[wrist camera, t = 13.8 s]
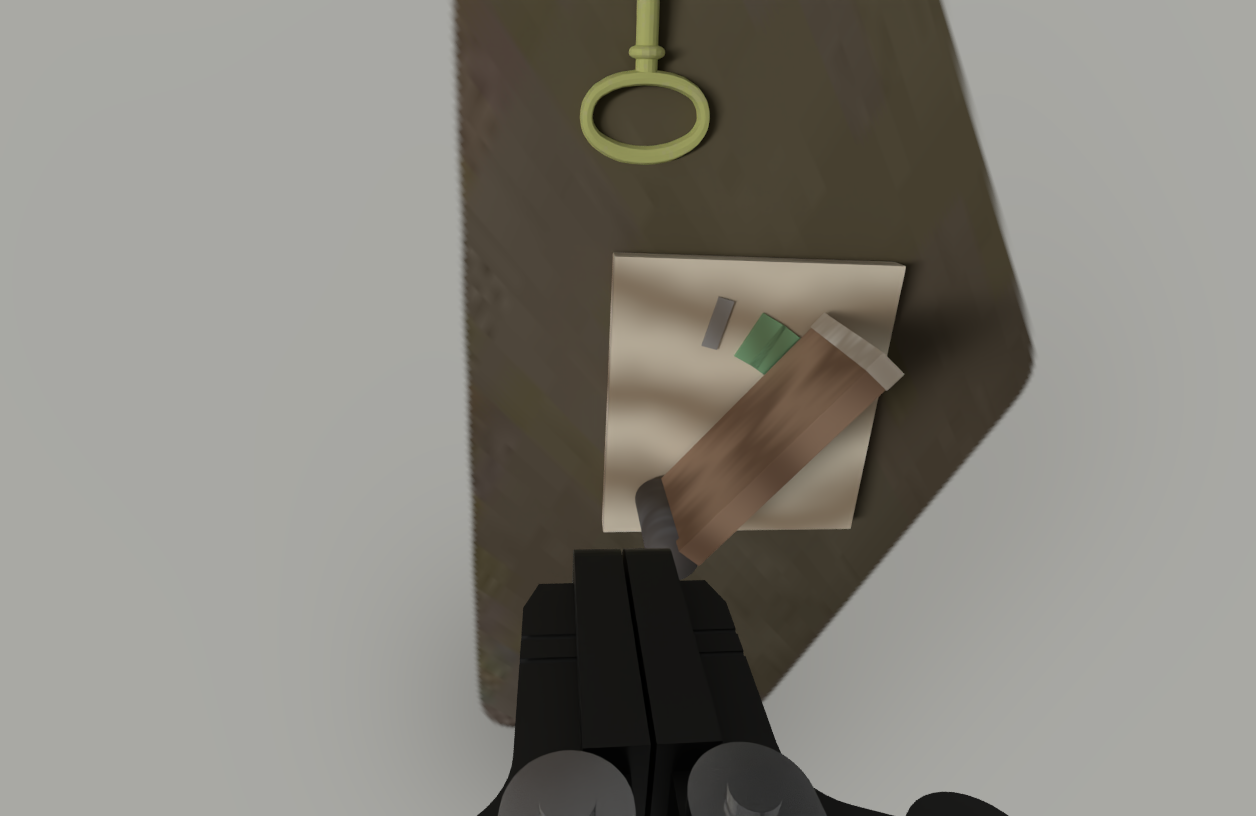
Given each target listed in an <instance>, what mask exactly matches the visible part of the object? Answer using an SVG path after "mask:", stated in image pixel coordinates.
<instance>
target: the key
mask: <svg viewBox="0 0 1256 816" xmlns="http://www.w3.org/2000/svg"><path fill="white" fill-rule="evenodd" d="M659 8H660V0H637V29H636V45H635V46H632V47H631V48H630V49H629V55H630V56H631V57H633V58H635V59H636V70H631V71H624V72H619V73H616V74H613V75H610V76H607V77H606V78H604V79H602V80H601V81H599V82H598V83H596V84H594V85H593V86H592V88H591V89H590V90H589V91H588V92H587V94H586V96H585V97H584V99H583V102H582V106H581V112H580V122H581V128H582V131H583V133H584V136H585V137H586V139H587V140H588V142H589V143H590V144H591V145H592V146H593V147H594V148H595V149H596V150H597V151H599V152H601V153H602V154H604V155H605V156H607V157H609V158H611V159H614V160H616V161H620V162H623V163H630V164H642V165H646V164H658V163H665V162H669V161H672V160H675V159H677V158H679V157H681V156H683V155H685V154H686V153H688V152H690V151H691V150H692V149H694V148H695V147H696V146H697V145H698V144H699V143H700V141H701V140H702V139H703V138H704V136H705V134H706V132H707V130H708V126H709V120H710V115H709V107H708V103H707V100H706V98H705V96H704V94H703V93H702V91H701V90H700V89H699V87H698V86H696V85H695V84H694V83H692V82H691V81H689V80H688V79H686V78H685V77H682V76H680V75H677V74H674V73H670V72H665V71H659V70H657V66H658V59H660V58H662V57H663V56H664V55H665V49H664V48H663V47H660V46H658V37H659ZM642 85H649V86H659V87H665V88H670V89H673V90H675V91H678V92H680V93H682V94H683V95H685V96H687V97H689V98H690V99H691V101H692V102H693V103H694V105H695V107H696V112H697V120H696V124H695V126H694V128H693V129H692V130H691V131H690V132H689V133H688V134H686V135H685V136H683V137H681V138H679V139H677V140H674V141H672V142H669V143H665V144H661V145H655V146H634V145H629V144H625V143H620V142H618V141H616V140H613V139H611V138H609V137H607V136H605V135H604V134H602V133H601V132H600V131H599V130H598V129H597V128H596V126H595V124H594V121H593V111H594V108H595V105H596V103H597V102H598V100H599V99H600V98H601V97H602V96H604V95H606V94H608V93H610V92H612V91H614V90H617V89H620V88H623V87H630V86H642Z"/></svg>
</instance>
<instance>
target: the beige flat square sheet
mask: <svg viewBox="0 0 1256 816" xmlns="http://www.w3.org/2000/svg"><path fill="white" fill-rule="evenodd" d="M905 269H906V266H904V265H901V264H899V263H896V262H885V261H856V260H827V259H798V258H769V257H740V256H711V255H682V254H653V253H624V252H613V267H612V291H611V316H610V340H609V364H608V388H607V412H606V437H605V461H604V485H603V509H602V524H603V532H641V527H640V522H639V517H638V513H637V508H636V503H635V495H636V492H637V490H638V489H639V487H640V486H641V485H642V484H643V483H645V482H647V481H649V480H651V479H657V478H660V479H661V478H662V477H663V476H664V475H665V474H666V473H667V472H668V471H669V470H670V469H671V468H672V467H673V466H674V465H675V464H676V463H677V462H678V461H679V460H680V459H681V458H682V457H683V456H684V455H685V454H686V453H687V452H688V451H689V450H690V449H691V448H692V447H693V446H694V445H695V444H696V443H697V442H698V441H699V440H700V439H701V438H702V437H703V436H704V435H705V434H706V433H707V432H708V431H709V430H710V429H711V428H712V427H713V426H714V425H715V424H716V423H717V422H718V421H719V420H720V419H721V418H722V417H723V416H724V415H725V414H726V413H727V412H728V411H729V410H730V409H731V408H732V407H733V406H734V405H735V404H736V403H737V402H738V401H739V400H740V399H741V398H742V397H743V396H744V395H745V394H746V393H747V392H748V391H749V390H750V389H751V388H752V387H753V386H754V385H755V384H756V383H757V382H758V381H759V380H760V379H761V378H762V377H763V376H764V375H765V374H766V373H767V372H768V371H769V370H770V369H771V368H772V367H773V366H774V365H775V364H776V363H777V362H778V361H779V360H780V359H781V358H782V357H783V356H784V355H785V354H786V353H787V352H788V351H789V350H790V349H791V348H792V347H793V346H794V345H795V344H796V343H797V342H798V341H799V340H800V339H801V338H802V337H803V336H804V335H805V334H806V333H807V332H808V331H809V330H810V329H811V327H810V326H811V325H812V324H813V323H814V322H815V321H816V320H817V319H818V318H819V317H820V316H821V315H822V314H823V313H824V312H825V313H826V314H828V315H829V316H830V317H832V318H833V319H835V320H836V321H838V322H839V323H841V324H842V325H844V326H845V327H846V328H848V329H849V330H851V331H852V332H854V333H855V334H857V335H858V336H860V337H861V338H863V339H864V340H865V341H867V342H868V343H870V344H871V345H873V346H874V347H876V348H877V349H879V350H880V351H882V352H883V353H884V354H885V355H886V356H887V354H888V349H889V345H890V340H891V335H892V330H893V326H894V321H895V316H896V312H897V307H898V302H899V297H900V293H901V288H902V283H903V279H904V274H905ZM877 401H878V398H877V399H875V400H874V401H873V402H872V403H871V404H870V405H869V406H868V407H867V408H866V409H865V410H864V411H863V412H862V413H861V414H860V415H859V416H857V417H856V418H855V419H854V420H853V421H852V422H851V423H850V424H849V425H848V426H847V427H846V428H845V429H844V430H843V431H842V432H840V433H839V434H838V435H837V436H836V437H835V438H834V439H833V440H832V441H831V442H830V443H829V444H828V445H827V446H826V447H825V448H824V449H822V450H821V451H820V452H819V453H818V454H817V455H816V456H815V457H814V458H813V459H812V460H811V461H810V462H809V463H808V464H807V465H805V466H804V467H803V468H802V469H801V470H800V471H799V472H798V473H797V474H796V475H795V476H794V477H793V478H792V479H791V480H790V481H789V482H787V483H786V484H785V485H784V486H783V487H782V488H781V489H780V490H779V491H778V492H777V493H776V494H775V495H774V496H773V497H772V498H770V499H769V500H768V501H767V502H766V503H765V504H764V505H763V506H762V507H761V508H760V509H759V510H758V511H757V512H756V513H755V514H754V515H752V516H751V517H750V518H749V519H748V520H747V521H746V522H745V523H744V524H743V525H742V526H741V527H740V528H739V529H738V530H793V529H851V524H852V519H853V514H854V510H855V505H856V500H857V496H858V491H859V486H860V481H861V477H862V472H863V467H864V462H865V458H866V453H867V448H868V444H869V439H870V434H871V429H872V425H873V420H874V415H875V411H876V406H877Z"/></svg>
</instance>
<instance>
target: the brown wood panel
mask: <svg viewBox="0 0 1256 816" xmlns="http://www.w3.org/2000/svg"><path fill="white" fill-rule="evenodd" d="M810 327H811V329H810V330H809V331H808V332H807V333H806V334H805V335H804V336H803V337H802V338H801V339H800V340H799V341H798V342H797V343H796V344H795V345H794V346H793V347H792V348H791V349H790V350H789V351H788V352H787V353H786V354H785V355H784V356H783V357H782V358H781V359H780V360H779V361H778V362H777V363H776V364H775V365H774V366H773V367H772V368H771V369H770V370H769V371H768V372H767V373H766V374H765V375H764V376H763V377H762V378H761V379H760V380H759V381H758V382H757V383H756V384H755V385H754V386H753V387H752V388H751V389H750V390H749V391H748V392H747V393H746V394H745V395H744V396H743V397H742V398H741V399H740V400H739V401H738V402H737V403H736V404H735V405H734V406H733V407H732V408H731V409H730V410H729V411H728V412H727V413H726V414H725V415H724V416H723V417H722V418H721V419H720V420H719V421H718V422H717V423H716V424H715V425H714V426H713V427H712V428H711V429H710V430H709V431H708V432H707V433H706V434H705V435H704V436H703V437H702V438H701V439H700V440H699V441H698V442H697V443H696V444H695V445H694V446H693V447H692V448H691V449H690V450H689V451H688V452H687V453H686V454H685V455H684V456H683V457H682V458H681V459H680V460H679V461H678V462H677V463H676V464H675V465H674V466H673V467H672V468H671V469H670V470H669V471H668V472H667V473H666V474H665V475H664V476H663V477H662V478H661V479H660V478H657V479H651V480H649V481H647V482H645V483H643V484H642V485H641V486H640V487H639V489H638V490H637V492H636V495H635V503H636V508H637V513H638V517H639V522H640V527H641V531H642V536H643V541H644V546H645V548H670V549H671V551H672V555H673V558H674V562H675V566H676V569H677V573H678V577H679V580H681V579H683V578H685V577H687V576H689V575H690V574H691V573H692V572H693V571H694V570H695V569H696V567H697V565H698V566H699V565H700V564H702V563H703V562H704V561H705V560H706V559H707V558H708V557H709V556H710V555H711V554H712V553H713V552H714V551H715V550H716V549H717V548H719V547H720V546H721V545H722V544H723V543H724V542H725V541H726V540H727V539H728V538H729V537H730V536H731V535H732V534H733V533H734V532H735V531H737V530H738V529H739V528H740V527H741V526H742V525H743V524H744V523H745V522H746V521H747V520H748V519H749V518H750V517H751V516H752V515H754V514H755V513H756V512H757V511H758V510H759V509H760V508H761V507H762V506H763V505H764V504H765V503H766V502H767V501H768V500H769V499H770V498H772V497H773V496H774V495H775V494H776V493H777V492H778V491H779V490H780V489H781V488H782V487H783V486H784V485H785V484H786V483H787V482H789V481H790V480H791V479H792V478H793V477H794V476H795V475H796V474H797V473H798V472H799V471H800V470H801V469H802V468H803V467H804V466H805V465H807V464H808V463H809V462H810V461H811V460H812V459H813V458H814V457H815V456H816V455H817V454H818V453H819V452H820V451H821V450H822V449H824V448H825V447H826V446H827V445H828V444H829V443H830V442H831V441H832V440H833V439H834V438H835V437H836V436H837V435H838V434H839V433H840V432H842V431H843V430H844V429H845V428H846V427H847V426H848V425H849V424H850V423H851V422H852V421H853V420H854V419H855V418H856V417H857V416H859V415H860V414H861V413H862V412H863V411H864V410H865V409H866V408H867V407H868V406H869V405H870V404H871V403H872V402H873V401H874V400H875V399H877V398H878V397H879V396H880V395H881V394H882V393H883V392H884V391H885V390H886V391H887V390H888V389H890V388H891V387H892V386H893V385H894V384H895V383H896V382H897V381H898V380H899V379H900V378H901V377H902V376H903V375H904V373H903V372H902V371H901V370H900V369H899V368H898V367H897V366H896V365H895V364H894V363H893V362H892V361H891V360H890V359H889V358H888V357H887V356H886V355H885V354H884V353H883V352H882V351H880V350H879V349H877V348H876V347H874V346H873V345H871V344H870V343H868V342H867V341H865V340H864V339H863V338H861V337H860V336H858V335H857V334H855V333H854V332H852V331H851V330H849V329H848V328H846V327H845V326H844V325H842V324H841V323H839V322H838V321H836V320H835V319H833V318H832V317H830V316H829V315H828V314H826V313H825V312H824V313H823V314H822V315H821V316H820V317H819V318H818V319H817V320H816V321H815V322H814V323H813V324H812V325H811V326H810Z"/></svg>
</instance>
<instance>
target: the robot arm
mask: <svg viewBox="0 0 1256 816" xmlns="http://www.w3.org/2000/svg"><path fill="white" fill-rule="evenodd" d="M477 816H893V815H889V814H885V813H881V812H877V811H873V810H869V809H865V808H861V807H857V806H854V805H850V804H847V803H844V802H841V801H838V800H836V799H833V798H831V797H829V796H827V795H825V794H823V793H822V792H820V791H818V790H817V789H815V788H813V786H812V784H811V783H810V781H809V779H808V778H807V777H806V775H805V774H804V773H803V772H802V770H801V769H800V768H799V767H798V766H797V765H795V764H794V763H793V762H792V761H791V760H790V759H788V758H787V757H785V756H784V755H782V754H781V752H780V750H779V747H778V745H777V743H776V740H775V738H774V735H773V732H772V729H771V726H770V724H769V721H768V718H767V715H766V712H765V710H764V707H763V704H762V701H761V698H760V695H759V693H758V690H757V687H756V684H755V682H754V679H753V676H752V673H751V670H750V668H749V665H748V662H747V659H746V656H744V655H743V648H742V645H741V642H740V640H739V637H738V634H736V632H735V626H734V623H733V620H732V617H731V615H730V612H729V609H728V606H727V603H726V602H725V601H724V600H723V599H722V598H721V596H720V595H719V594H718V593H717V592H716V591H715V590H714V589H713V588H712V587H711V586H710V585H709V584H708V583H707V582H706V581H705V580H693V581H680V580H679V577H678V573H677V569H676V566H675V562H674V558H673V555H672V551H671V549H670V548H638V549H623V551H622V554H621V550H620V549H588V550H574V552H573V583H564V584H539V585H538V587H537V588H536V590H535V591H534V593H533V594H532V596H531V597H530V599H529V600H528V602H527V603H526V605H525V606H524V608H523V621H522V639H521V651H520V665H519V680H518V694H517V709H516V724H515V738H514V753H513V761H512V767H511V770H510V773H509V776H508V779H507V781H506V782H505V784H504V787H503V788H502V790H501V791H500V793H499V794H498V795H497V797H496V798H495V799H494V800H493V801H492V802H491V803H490V805H489V806H488V807H487V808H486V809H484V810H483V811H482V812H481V813H480V814H478V815H477ZM906 816H1008V815H1007V814H1005V813H1004V812H1002V811H1000V810H999V809H997V808H995V807H994V806H992V805H990V804H988V803H986V802H984V801H981V800H980V799H977V798H974V797H971V796H968V795H965V794H960V793H955V792H937V793H931V794H928V795H925V796H923V797H921V798H920V799H918V800H916V802H914V804H913V805H912V806H911V807H910V808H909V811H908V813H907V814H906Z"/></svg>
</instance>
